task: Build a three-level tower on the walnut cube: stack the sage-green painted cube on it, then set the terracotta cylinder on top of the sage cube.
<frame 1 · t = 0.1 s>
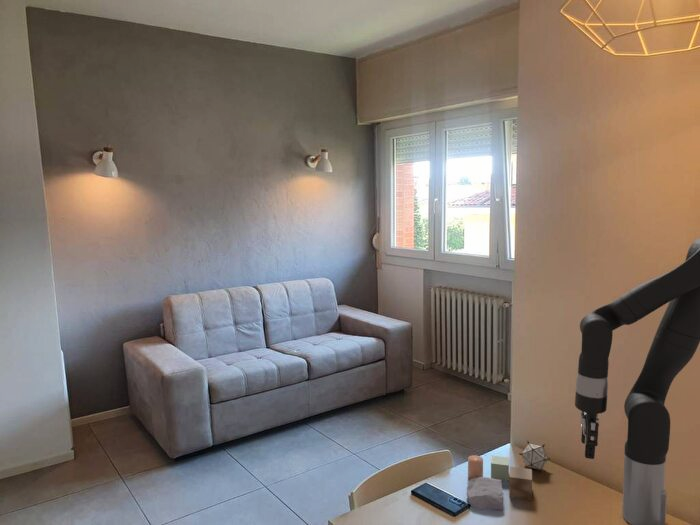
hand: (587, 450, 140), 17 cm above the table, tool pointing down, fingers open, 8 cm apart
stone block: (484, 499, 150), on the table
terracotta cylinder: (475, 477, 161), on the table
walnut cube: (520, 492, 152), on the table
white knobbed polyhedron: (534, 469, 165), on the table
sage cube: (499, 476, 161), on the table
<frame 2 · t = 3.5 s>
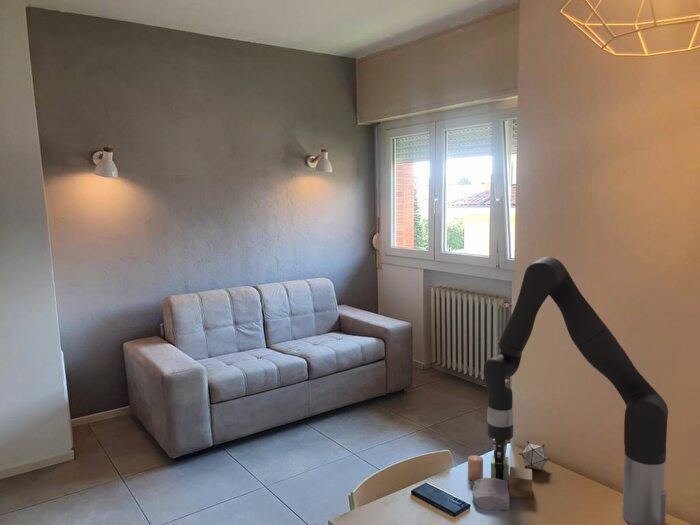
hand: (499, 474, 161), 0 cm above the table, tool pointing down, fingers closed on sage cube, 5 cm apart
stone block: (490, 499, 150), on the table
sage cube: (499, 475, 161), on the table, touching gripper
everything else where it was.
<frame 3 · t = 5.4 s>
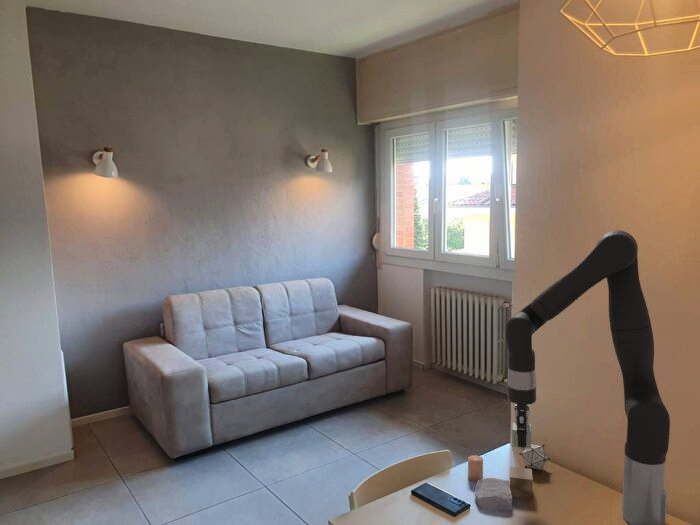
hand: (522, 442, 150), 15 cm above the table, tool pointing down, fingers closed on sage cube, 5 cm apart
sage cube: (522, 443, 150), point 14 cm above the table, touching gripper
when the fingers open (7 cm above the table, at t = 7.3 s): sage cube stays where it is, resting on walnut cube.
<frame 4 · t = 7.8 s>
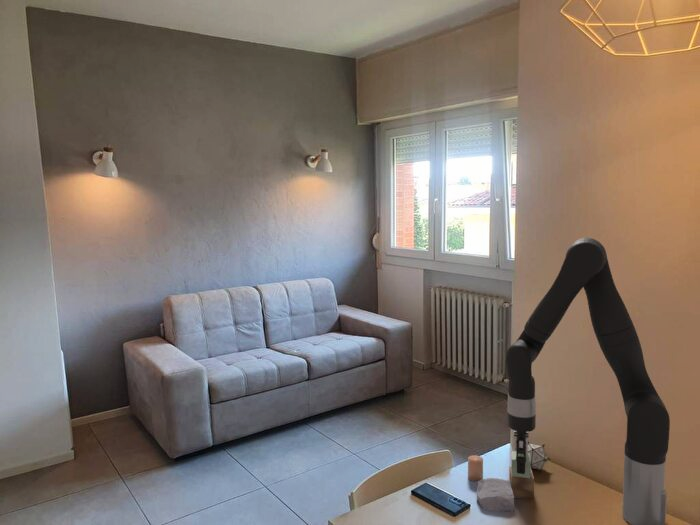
hand: (520, 465, 151), 8 cm above the table, tool pointing down, fingers open, 8 cm apart
walnut cube: (521, 492, 152), on the table, touching sage cube
sage cube: (520, 472, 151), point 6 cm above the table, touching walnut cube
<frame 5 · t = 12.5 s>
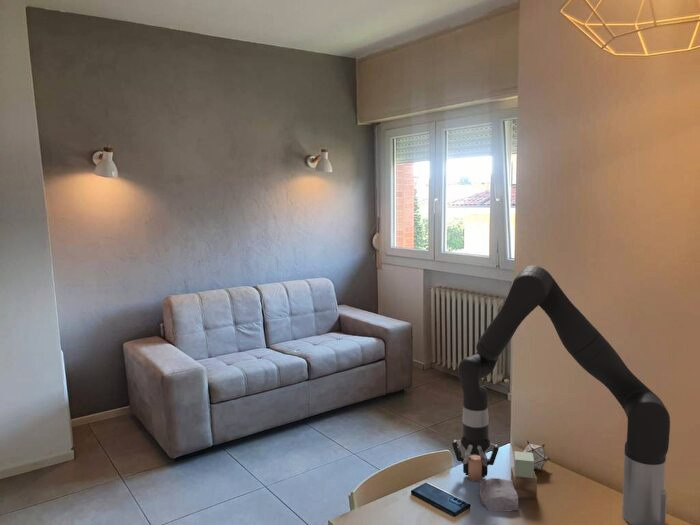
hand: (475, 474, 161), 1 cm above the table, tool pointing down, fingers closed on terracotta cylinder, 4 cm apart
terracotta cylinder: (475, 477, 161), on the table, touching gripper
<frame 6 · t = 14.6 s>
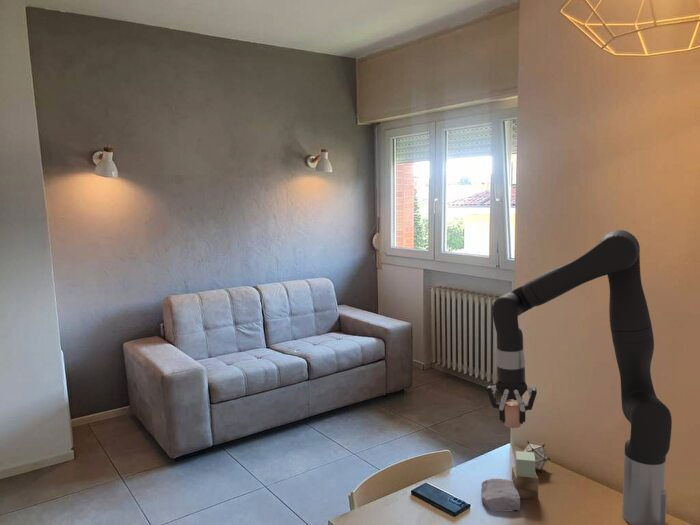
hand: (512, 422, 152), 20 cm above the table, tool pointing down, fingers closed on terracotta cylinder, 4 cm apart
terracotta cylinder: (512, 424, 152), point 19 cm above the table, touching gripper
when the fingers open (13 cm above the table, at t = 17.2 s): terracotta cylinder drops 1 cm, resting on sage cube.
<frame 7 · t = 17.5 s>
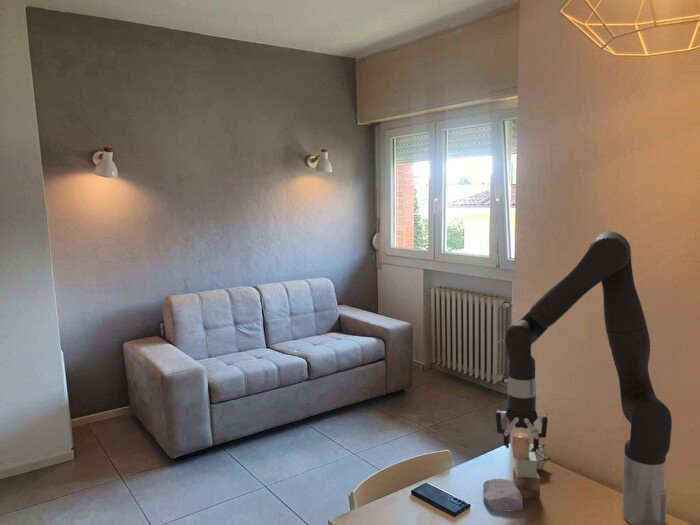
hand: (521, 448, 150), 13 cm above the table, tool pointing down, fingers open, 6 cm apart
terracotta cylinder: (520, 456, 151), point 11 cm above the table, touching sage cube
sage cube: (526, 472, 151), point 6 cm above the table, touching terracotta cylinder, walnut cube
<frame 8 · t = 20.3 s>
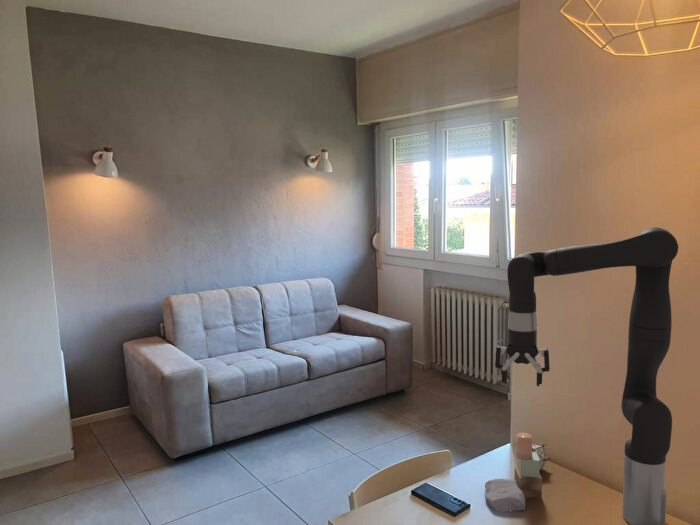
hand: (521, 383, 148), 32 cm above the table, tool pointing down, fingers open, 8 cm apart
at the end: sage cube inside the target area on the walnut cube (0.3 cm from its centre), point 6.0 cm above the walnut cube's base; terracotta cylinder 1.4 cm off-centre on the sage cube, point 5.0 cm above the sage cube's base; the gripper is holding nothing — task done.
